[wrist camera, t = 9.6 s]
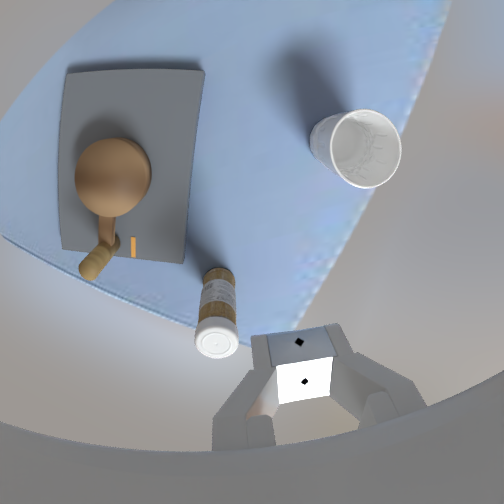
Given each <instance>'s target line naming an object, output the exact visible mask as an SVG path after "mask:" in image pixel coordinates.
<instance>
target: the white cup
mask: <svg viewBox="0 0 504 504" xmlns="http://www.w3.org/2000/svg"><path fill="white" fill-rule="evenodd" d="M310 149H311V151H312V153H313V155H314V157H315V159H317V160H318V161H319V162H320V163H321V164H323V166H324V167H326V168H327V169H329V170H330V171H331V172H333V173H334V174H336V175H337V176H339V177H340V178H342V179H343V180H345V181H346V182H348V183H349V184H351V185H353V186H356V187H360V188H373V187H377V186H379V185H381V184H383V183H385V182H386V181H387V180H389V179H390V178H391V177H392V175H393V174H394V173H395V171H396V169H397V167H398V165H399V162H400V158H401V141H400V137H399V134H398V132H397V130H396V128H395V126H394V125H393V123H392V122H391V121H390V120H389V119H388V118H387V117H386V116H384V115H383V114H381V113H379V112H377V111H374V110H370V109H358V110H353V111H348V112H343V113H339V114H335V115H332V116H330V117H327V118H323V119H322V120H321V121H319V122H318V123H317V124H316V125H315V126H314V128H313V130H312V132H311V134H310Z"/></svg>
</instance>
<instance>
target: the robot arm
mask: <svg viewBox="0 0 504 504" xmlns="http://www.w3.org/2000/svg"><path fill="white" fill-rule="evenodd" d="M251 346H252V355H253V364H254V370H249V372H248V373H247V374H246V376H245V377H244V378H243V380H242V381H241V382H240V384H239V385H238V386H237V388H236V389H235V390H234V392H233V393H232V394H231V395H230V397H229V398H228V399H227V401H226V402H225V403H224V405H223V406H222V407H221V408H220V410H219V411H218V412H217V413H216V415H215V416H214V417H213V429H212V431H213V432H212V451H202V452H175V451H151V450H150V451H149V450H136V449H125V448H116V447H108V446H101V445H93V444H88V443H82V442H76V441H71V440H66V439H61V438H56V437H52V436H48V435H44V434H40V433H36V432H32V431H29V430H25V429H21V428H19V427H15V426H12V425H9V424H6V423H3V422H1V421H0V504H504V370H503V371H502V372H500V373H498V374H496V375H494V376H493V377H491V378H489V379H487V380H485V381H483V382H481V383H479V384H477V385H475V386H473V387H471V388H469V389H467V390H465V391H463V392H461V393H459V394H457V395H454V396H452V397H450V398H448V399H445V400H443V401H441V402H438V403H436V404H433V405H431V406H428V407H427V405H426V403H425V402H424V400H423V399H422V396H421V395H420V393H419V392H418V390H417V388H416V386H415V385H414V383H413V381H411V380H409V379H407V378H406V377H404V376H402V375H400V374H398V373H396V372H394V371H392V370H390V369H388V368H386V367H384V366H383V365H380V364H378V363H377V362H375V361H373V360H371V359H369V358H367V357H366V356H364V355H362V354H360V353H358V352H357V353H353V350H352V348H351V346H350V344H349V342H348V340H347V339H346V336H345V335H344V333H343V331H342V329H341V327H340V325H339V324H338V323H335V324H329V325H324V326H321V327H315V328H309V329H303V330H296V331H288V332H279V333H270V334H263V335H254V336H251ZM324 395H329V396H330V397H331V398H332V399H333V400H335V401H336V402H337V403H338V404H340V405H341V406H342V407H343V408H344V409H346V410H347V411H348V412H349V413H351V414H352V415H353V416H354V417H355V418H357V419H358V420H359V421H360V423H359V427H358V430H355V431H351V432H347V433H343V434H338V435H335V436H330V437H325V438H320V439H315V440H309V441H304V442H298V443H292V444H285V445H278V446H276V442H275V435H274V429H273V423H272V418H273V417H274V415H275V413H276V411H277V409H278V407H279V405H280V403H283V402H289V401H295V400H300V399H305V398H312V397H317V396H324Z"/></svg>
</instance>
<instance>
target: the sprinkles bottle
mask: <svg viewBox="0 0 504 504" xmlns="http://www.w3.org/2000/svg"><path fill="white" fill-rule="evenodd" d="M238 342H239V339H238V329H237V327H236V297H235V279H234V276H233V275H232V273H231V272H230V271H228V270H226V269H224V268H214V269H211V270H210V271H208V272H207V273H206V274H205V276H204V279H203V289H202V293H201V300H200V307H199V320H198V325H197V327H196V331H195V345H196V348H197V349H198V350H199V351H200V353H202V354H203V355H205V356H207V357H210V358H224V357H227V356H229V355H231V354H232V353H234V351H235V350H236V349H237V347H238Z"/></svg>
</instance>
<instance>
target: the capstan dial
mask: <svg viewBox="0 0 504 504" xmlns="http://www.w3.org/2000/svg"><path fill="white" fill-rule="evenodd" d="M151 179H152V168H151V163H150V160H149V158H148V156H147V154H146V152H145V151H144V150H143V148H142V147H141V146H140V145H139V144H137V143H136V142H134V141H132V140H130V139H127V138H122V137H116V138H109V139H103V140H99V141H97V142H94V143H93V144H91V145H90V146H89V147H87V148H86V149H85V150H84V152H83V153H82V154H81V156H80V158H79V160H78V162H77V165H76V168H75V187H76V191H77V193H78V196H79V198H80V199H81V201H82V202H83V204H84V205H85V206H86V207H87V208H88V209H89V210H91V211H92V212H94V213H95V214H98V215H99V229H98V245H97V246H96V247H95V248H94V249H93V250H92V251H91V252H90V253H89V254H88V255H87V256H86V257H85V259H84V260H83V261H82V262H81V263H80V264H79V272H80V274H81V276H82V277H83V278H84V279H86V280H90V281H91V280H94V279H96V277H97V276H98V275H99V273H100V272H101V271H102V269H103V268H104V267H105V266H106V264H107V263H108V262H109V261H110V259H111V258H112V257H113V255H114V254H115V253H116V252H117V251H118V249H119V248H120V245H121V243H120V239H119V238H118V237H117V236H116V235H115V223H116V216H120V215H123V214H125V213H127V212H128V211H130V210H131V209H132V208H133V207H134V206H136V205H137V204H138V203H139V202H140V201H141V200H142V199H143V198H144V197H145V195H146V193H147V192H148V190H149V187H150V184H151Z"/></svg>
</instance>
